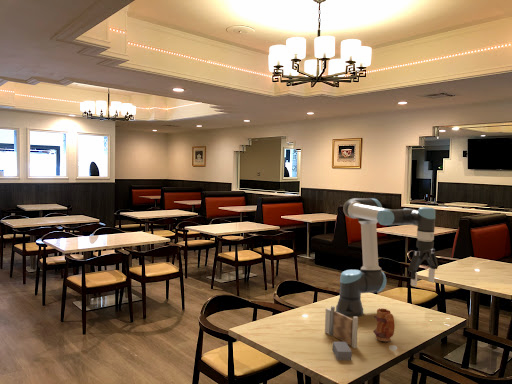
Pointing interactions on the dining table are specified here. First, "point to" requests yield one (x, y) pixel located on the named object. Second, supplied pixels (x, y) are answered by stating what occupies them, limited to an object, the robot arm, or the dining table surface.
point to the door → (343, 327)
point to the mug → (384, 325)
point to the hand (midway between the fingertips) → (422, 283)
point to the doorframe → (330, 323)
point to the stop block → (342, 351)
